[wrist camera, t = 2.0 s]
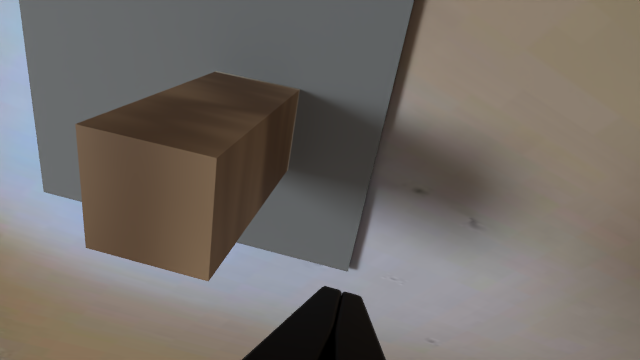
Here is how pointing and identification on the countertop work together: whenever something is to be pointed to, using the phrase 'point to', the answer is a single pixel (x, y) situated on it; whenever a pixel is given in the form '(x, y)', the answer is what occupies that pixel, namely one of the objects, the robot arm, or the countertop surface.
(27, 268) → the countertop surface
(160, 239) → the walnut block
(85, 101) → the mat
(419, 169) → the countertop surface
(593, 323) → the countertop surface
